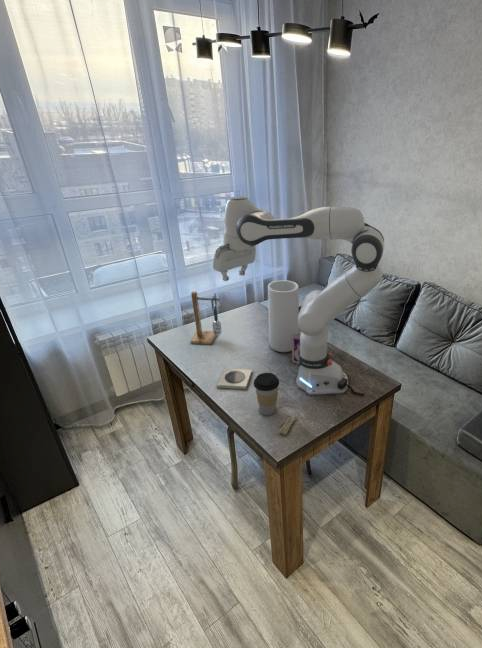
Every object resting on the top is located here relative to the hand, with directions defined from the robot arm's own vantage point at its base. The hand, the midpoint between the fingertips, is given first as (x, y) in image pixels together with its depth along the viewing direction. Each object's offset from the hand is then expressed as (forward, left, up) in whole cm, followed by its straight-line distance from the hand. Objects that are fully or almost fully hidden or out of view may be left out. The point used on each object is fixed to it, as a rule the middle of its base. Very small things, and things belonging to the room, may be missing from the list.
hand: (234, 277), depth 153 cm
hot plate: (+1, +7, -44) cm, 44 cm away
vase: (-16, -23, -44) cm, 52 cm away
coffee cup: (-16, +25, -44) cm, 53 cm away
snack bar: (-25, +33, -44) cm, 60 cm away
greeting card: (-28, -9, -44) cm, 53 cm away
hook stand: (+22, -25, -44) cm, 55 cm away
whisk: (+17, -25, -41) cm, 51 cm away
